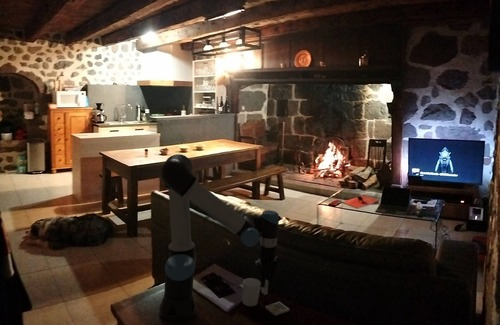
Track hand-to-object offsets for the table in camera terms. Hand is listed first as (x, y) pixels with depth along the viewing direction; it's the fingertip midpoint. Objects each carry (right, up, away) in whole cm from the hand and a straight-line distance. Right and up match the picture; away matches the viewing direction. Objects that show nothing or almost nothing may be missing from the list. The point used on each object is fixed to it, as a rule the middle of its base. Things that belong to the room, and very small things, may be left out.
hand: (264, 292), depth 185 cm
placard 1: (-7, -1, +9) cm, 11 cm away
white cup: (-7, -3, -4) cm, 8 cm away
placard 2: (+5, -5, -7) cm, 10 cm away
